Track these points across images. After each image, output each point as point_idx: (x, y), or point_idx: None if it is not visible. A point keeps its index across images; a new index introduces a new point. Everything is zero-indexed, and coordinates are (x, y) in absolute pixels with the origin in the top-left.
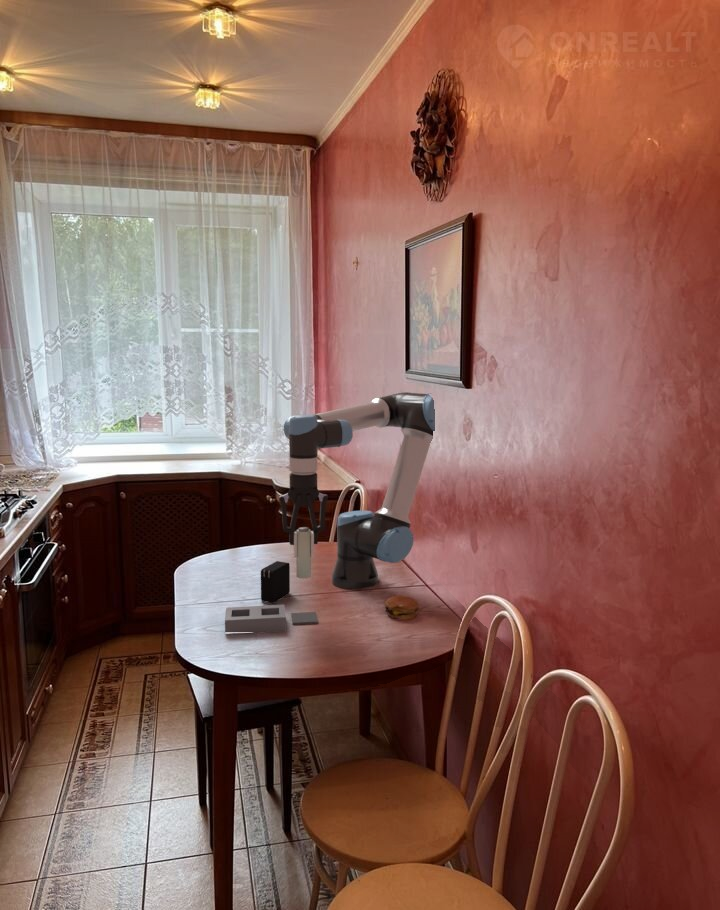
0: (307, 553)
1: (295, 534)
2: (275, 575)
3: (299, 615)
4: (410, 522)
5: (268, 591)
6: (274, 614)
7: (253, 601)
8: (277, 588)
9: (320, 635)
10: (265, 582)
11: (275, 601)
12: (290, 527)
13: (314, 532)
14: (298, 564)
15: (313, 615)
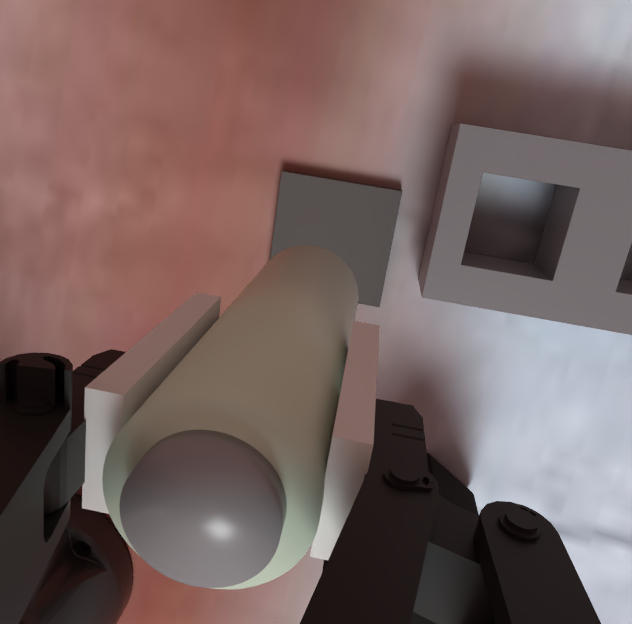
0: (248, 299)
1: (352, 438)
2: None
3: (349, 267)
4: None
5: (449, 494)
6: (478, 260)
7: (503, 500)
8: None
9: (303, 25)
10: None
11: None
12: (425, 548)
13: (65, 392)
14: (343, 299)
15: (286, 248)
